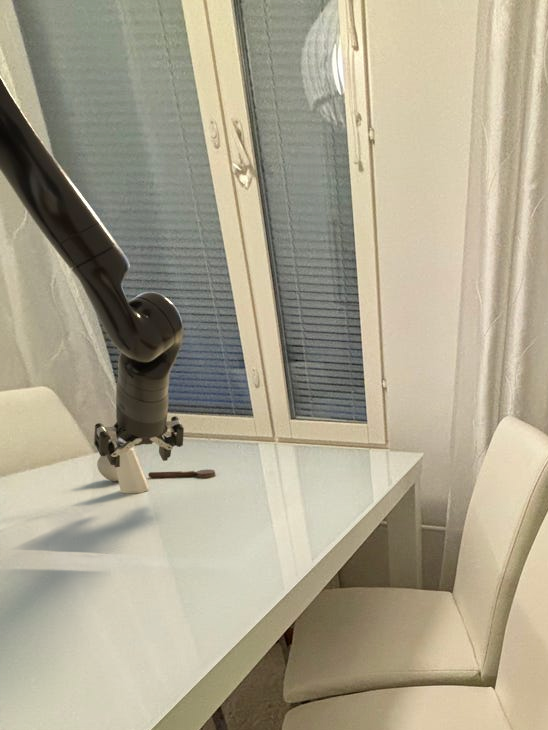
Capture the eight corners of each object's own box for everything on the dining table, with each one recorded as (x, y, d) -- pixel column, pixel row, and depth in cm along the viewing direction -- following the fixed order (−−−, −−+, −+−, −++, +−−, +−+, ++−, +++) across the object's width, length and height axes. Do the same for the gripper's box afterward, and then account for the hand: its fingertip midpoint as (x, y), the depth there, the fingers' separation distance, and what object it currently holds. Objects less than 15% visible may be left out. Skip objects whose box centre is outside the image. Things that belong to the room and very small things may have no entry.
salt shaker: (130, 486, 118) (114, 433, 113) (154, 487, 118) (140, 433, 112) (114, 493, 113) (97, 438, 108) (140, 494, 113) (124, 439, 108)
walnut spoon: (146, 480, 123) (145, 474, 122) (151, 475, 126) (149, 470, 126) (214, 477, 126) (213, 472, 125) (216, 473, 129) (215, 468, 129)
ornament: (99, 485, 118) (83, 436, 113) (107, 476, 125) (92, 430, 119) (130, 483, 120) (116, 435, 115) (137, 475, 126) (124, 429, 121)
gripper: (176, 382, 98) (169, 439, 110) (84, 387, 89) (88, 448, 102) (195, 417, 97) (186, 471, 110) (105, 426, 89) (106, 482, 101)
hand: (139, 460), depth 106 cm, fingers open, 8 cm apart
